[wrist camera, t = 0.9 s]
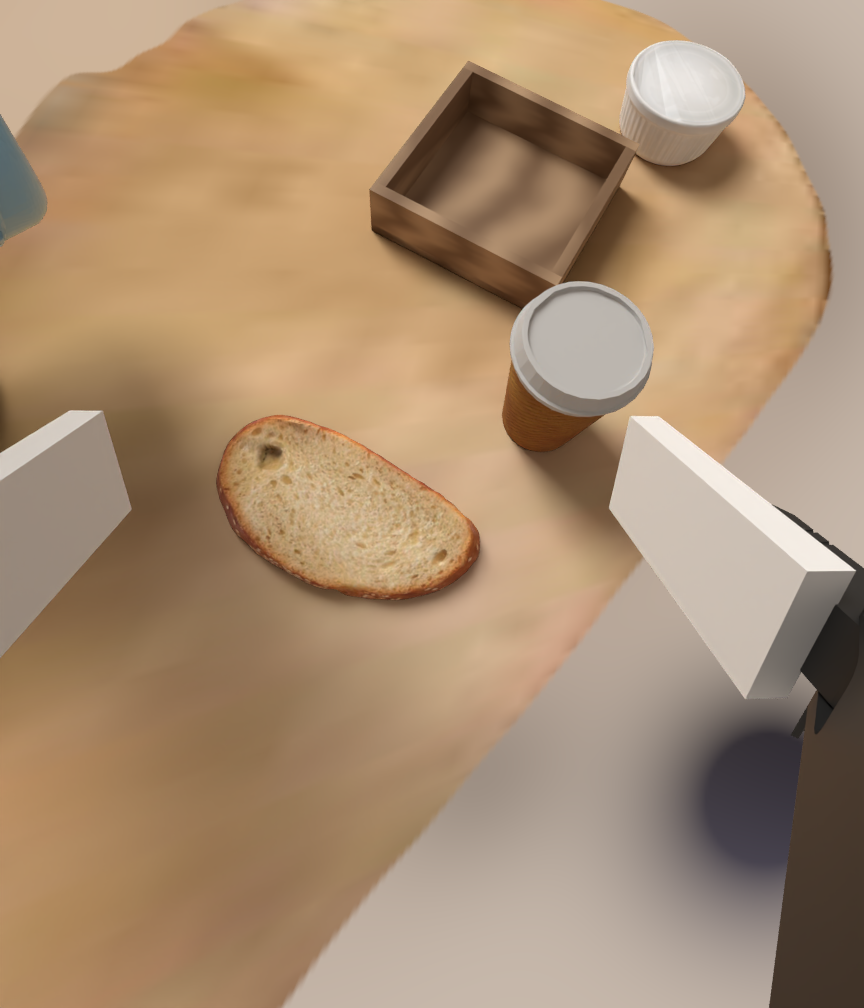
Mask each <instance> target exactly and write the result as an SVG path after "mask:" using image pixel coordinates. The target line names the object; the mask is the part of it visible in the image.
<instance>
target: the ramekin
mask: <svg viewBox="0 0 864 1008" xmlns="http://www.w3.org/2000/svg"><path fill="white" fill-rule="evenodd" d="M744 100H745V88H744V83H743V81H742V78H741V76H740V74H739V73H738V71H737V70H736V68H735V67H734V66H733V64H732V63H731V62H730V61H729V60H728V59H727V58H726V57H724V56H723V55H721V54H719V53H718V52H716V51H714V50H713V49H711V48H708V47H706V46H703V45H700V44H697V43H694V42H688V41H664V42H659V43H656V44H653V45H651V46H649V47H647V48H646V49H644V50H643V51H641V52H640V53H639V54H638V55H637V56H636V58H635V59H634V61H633V62H632V64H631V67H630V69H629V72H628V75H627V81H626V91H625V95H624V100H623V104H622V108H621V113H620V121H619V123H620V129H621V133H622V136H624V137H626V138H628V139H630V140H632V141H635V142H637V143H639V144H640V145H639V147H638V149H637V151H636V153H635V154H637V155H638V156H639V157H641V158H642V159H644V160H646V161H648V162H651V163H654V164H658V165H664V166H676V165H681V164H685V163H687V162H690V161H692V160H695V159H696V158H697V157H699V156H700V155H702V154H703V153H704V152H705V151H706V150H707V149H708V147H709V146H710V145H711V144H712V143H713V142H714V140H715V139H716V138H717V137H718V136H719V135H720V133H721V132H722V131H723V130H724V128H725V127H727V126H728V125H729V124H730V123H731V122H732V121H733V120H734V119H735V118H736V116H737V115H738V113H739V112H740V110H741V108H742V106H743V104H744Z"/></svg>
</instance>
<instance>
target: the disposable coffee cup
mask: <svg viewBox="0 0 864 1008" xmlns="http://www.w3.org/2000/svg"><path fill="white" fill-rule="evenodd" d="M653 350H654V346H653V337H652V333H651V330H650V327H649V324H648V322H647V321H646V319H645V317H644V315H643V314H642V313H641V311H640V310H639V309H638V308H637V307H636V306H635V305H634V304H633V303H632V302H631V301H630V300H629V299H628V298H627V297H625V296H624V295H622V294H621V293H619V292H617V291H616V290H614V289H612V288H609V287H607V286H604V285H602V284H597V283H592V282H584V281H574V282H567V283H563V284H559V285H556V286H554V287H552V288H550V289H547V290H546V291H544V292H543V293H542V294H540V295H539V296H538V297H536V298H535V299H533V300H532V301H531V302H529V303H528V304H527V305H526V306H525V307H524V308H523V309H522V311H521V312H520V313H519V315H518V317H517V319H516V320H515V322H514V325H513V328H512V332H511V338H510V354H511V359H512V361H511V367H510V373H509V378H508V384H507V389H506V395H505V401H504V407H503V412H502V418H503V424H504V427H505V429H506V431H507V433H508V435H509V436H510V437H511V438H512V440H513V441H515V442H516V443H517V444H518V445H520V446H522V447H523V448H525V449H528V450H531V451H538V452H545V451H551V450H554V449H556V448H559V447H560V446H562V445H563V444H565V443H566V442H568V441H569V440H570V439H572V438H573V437H575V436H576V435H577V434H579V433H580V432H581V431H583V430H584V429H586V428H587V427H588V426H590V425H591V424H593V423H594V422H595V421H597V420H598V419H599V418H601V417H602V416H604V415H605V414H608V413H612V412H615V411H617V410H619V409H621V408H623V407H624V406H626V405H627V404H628V403H630V402H631V401H633V400H634V399H635V398H636V397H637V395H638V394H639V393H640V392H641V391H642V389H643V388H644V386H645V384H646V382H647V380H648V378H649V374H650V370H651V365H652V358H653Z"/></svg>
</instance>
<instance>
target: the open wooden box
mask: <svg viewBox="0 0 864 1008" xmlns="http://www.w3.org/2000/svg"><path fill="white" fill-rule="evenodd" d="M639 145H640V144H639V143H637V142H635V141H632V140H630V139H628V138H626V137H624V136H622V135H620V134H618V133H616V132H614V131H612V130H610V129H608V128H606V127H604V126H602V125H600V124H598V123H595V122H593V121H591V120H589V119H587V118H585V117H583V116H581V115H579V114H577V113H575V112H573V111H571V110H569V109H567V108H565V107H563V106H560V105H558V104H556V103H554V102H552V101H550V100H548V99H546V98H544V97H542V96H540V95H538V94H536V93H534V92H532V91H530V90H528V89H525V88H523V87H521V86H519V85H517V84H515V83H513V82H511V81H509V80H507V79H505V78H503V77H501V76H499V75H497V74H495V73H493V72H490V71H488V70H486V69H484V68H482V67H480V66H478V65H476V64H474V63H472V62H470V61H468V62H467V63H466V65H465V66H464V67H463V68H462V70H461V71H460V72H459V74H458V75H457V76H456V78H455V79H454V80H453V81H452V83H451V84H450V85H449V87H448V88H447V89H446V91H445V92H444V93H443V94H442V96H441V97H440V98H439V100H438V101H437V102H436V104H435V105H434V106H433V108H432V109H431V110H430V111H429V113H428V114H427V115H426V117H425V118H424V119H423V121H422V122H421V123H420V124H419V126H418V127H417V128H416V130H415V131H414V132H413V134H412V135H411V136H410V137H409V139H408V140H407V141H406V143H405V144H404V145H403V147H402V148H401V149H400V150H399V152H398V153H397V154H396V156H395V157H394V158H393V160H392V161H391V162H390V163H389V165H388V166H387V167H386V169H385V170H384V171H383V173H382V174H381V175H380V176H379V178H378V179H377V180H376V182H375V183H374V184H373V186H372V187H371V188H370V189H369V190H370V207H371V225H372V231H374V232H376V233H378V234H380V235H382V236H384V237H386V238H388V239H390V240H391V241H393V242H395V243H397V244H399V245H401V246H403V247H405V248H407V249H409V250H411V251H413V252H415V253H416V254H418V255H420V256H422V257H424V258H426V259H428V260H430V261H432V262H434V263H436V264H438V265H440V266H441V267H443V268H445V269H447V270H449V271H451V272H453V273H455V274H457V275H459V276H461V277H463V278H464V279H466V280H468V281H470V282H472V283H474V284H476V285H478V286H480V287H482V288H484V289H486V290H488V291H489V292H491V293H493V294H495V295H497V296H499V297H501V298H503V299H505V300H507V301H509V302H511V303H513V304H514V305H516V306H518V307H520V308H522V309H523V308H524V307H525V306H526V305H527V304H528V303H529V302H531V301H532V300H533V299H535V298H536V297H538V296H539V295H540V294H542V293H543V292H544V291H546V290H547V289H550V288H552V287H554V286H556V285H559V284H563V282H564V281H565V279H566V277H567V275H568V274H569V272H570V270H571V269H572V267H573V265H574V263H575V262H576V260H577V258H578V257H579V255H580V253H581V251H582V250H583V248H584V246H585V245H586V243H587V241H588V239H589V238H590V236H591V234H592V233H593V231H594V229H595V227H596V226H597V224H598V222H599V220H600V219H601V217H602V215H603V214H604V212H605V210H606V208H607V207H608V205H609V203H610V202H611V200H612V198H613V196H614V195H615V193H616V191H617V190H618V188H619V186H620V184H621V182H622V180H623V178H624V176H625V174H626V172H627V170H628V168H629V166H630V164H631V162H632V160H633V158H634V156H635V153H636V151H637V149H638V147H639Z"/></svg>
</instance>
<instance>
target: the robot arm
mask: <svg viewBox="0 0 864 1008" xmlns="http://www.w3.org/2000/svg"><path fill="white" fill-rule="evenodd" d="M46 211H47V197H46V194H45V191H44V189H43V187H42V185H41V183H40V181H39V179H38V178H37V176H36V174H35V172H34V170H33V169H32V167H31V165H30V164H29V162H28V160H27V158H26V157H25V155H24V153H23V151H22V150H21V148H20V146H19V145H18V143H17V141H16V140H15V138H14V136H13V135H12V133H11V131H10V130H9V128H8V126H7V124H6V123H5V121H4V120H3V118H2V116H1V115H0V247H1V246H2V245H3V244H4V241H6V240H8V239H9V238H11V237H13V236H15V235H17V234H19V233H21V232H23V231H25V230H27V229H29V228H31V227H33V226H35V225H37V224H38V223H39V222H40V221H41V220H42V219H43V216H44V215H45V213H46ZM609 509H610V511H611V512H612V513H613V515H614V516H615V518H616V519H617V520H618V522H619V523H620V525H621V526H622V527H623V529H624V530H625V532H626V533H627V534H628V536H629V537H630V539H631V540H632V541H633V543H634V544H635V546H636V547H637V548H638V550H639V551H640V553H641V554H642V555H643V557H644V558H645V559H646V561H647V562H648V563H649V565H650V566H651V568H652V569H653V571H654V572H655V573H656V575H657V576H658V578H659V579H660V580H661V582H662V583H663V585H664V586H665V587H666V589H667V590H668V591H669V593H670V594H671V596H672V597H673V599H674V600H675V601H676V603H677V604H678V606H679V607H680V608H681V610H682V611H683V613H684V614H685V615H686V617H687V618H688V620H689V621H690V622H691V624H692V625H693V626H694V628H695V629H696V631H697V632H698V633H699V635H700V636H701V638H702V639H703V641H704V642H705V643H706V645H707V646H708V647H709V649H710V650H711V652H712V653H713V655H714V656H715V657H716V659H717V660H718V661H719V663H720V664H721V666H722V667H723V668H724V670H725V671H726V673H727V674H728V675H729V677H730V678H731V680H732V681H733V682H734V684H735V685H736V687H737V688H738V689H739V691H740V692H741V694H742V695H743V696H744V698H745V699H765V698H787V697H788V696H789V694H790V692H791V690H792V688H793V686H794V685H795V683H796V681H797V679H798V677H799V675H800V673H801V672H802V673H803V674H804V675H805V677H806V678H807V679H808V680H809V681H810V682H811V683H812V685H813V686H814V687H815V688H816V689H817V691H816V692H815V694H814V696H813V697H812V699H811V701H810V703H809V705H808V706H807V708H806V710H805V711H804V713H803V715H802V717H801V718H800V720H799V722H798V723H797V725H796V727H795V729H794V731H793V732H792V734H791V735H792V736H794V737H796V738H799V737H800V735H801V734H802V732H803V731H805V732H804V740H803V748H802V755H801V764H800V771H799V779H798V786H797V795H796V802H795V810H794V818H793V826H792V833H791V841H790V849H789V857H788V864H787V872H786V880H785V888H784V895H783V903H782V912H781V919H780V927H779V935H778V943H777V950H776V958H775V966H774V973H773V982H772V989H771V997H770V1005H769V1008H864V568H862V567H861V566H860V565H859V564H857V563H856V562H855V561H853V560H852V559H851V558H849V557H848V556H847V555H846V554H844V553H843V552H842V551H840V550H839V549H838V548H836V547H835V546H834V545H829V541H827V540H826V539H825V538H823V537H822V536H821V535H819V534H818V533H813V529H811V528H810V527H809V526H808V525H806V524H805V523H804V522H802V521H801V520H800V519H798V518H797V517H796V516H795V515H793V514H791V513H789V512H787V511H785V510H782V509H780V508H778V507H776V506H774V505H772V504H770V503H769V502H768V501H766V500H765V499H764V498H762V497H761V496H760V495H759V494H757V493H756V492H755V491H753V490H752V489H751V488H750V487H748V486H747V485H746V484H744V483H743V482H742V481H741V480H739V479H738V478H737V477H736V476H734V475H733V474H732V473H730V472H729V471H728V470H727V469H725V468H724V467H723V466H722V465H720V464H719V463H718V462H716V461H715V460H714V459H713V458H711V457H710V456H709V455H707V454H706V453H705V452H704V451H702V450H701V449H700V448H699V447H697V446H696V445H695V444H693V443H692V442H691V441H690V440H688V439H687V438H686V437H684V436H683V435H682V434H681V433H679V432H678V431H677V430H676V429H674V428H673V427H672V426H670V425H669V424H668V423H667V422H665V421H664V420H663V419H661V418H660V417H659V416H630V419H629V423H628V427H627V432H626V436H625V440H624V445H623V449H622V453H621V457H620V462H619V466H618V470H617V475H616V479H615V483H614V488H613V492H612V496H611V501H610V505H609ZM131 510H132V508H131V504H130V501H129V498H128V494H127V491H126V487H125V484H124V481H123V477H122V474H121V470H120V467H119V464H118V460H117V457H116V454H115V450H114V447H113V443H112V440H111V437H110V433H109V430H108V426H107V423H106V420H105V416H104V413H103V411H77V410H70V411H68V412H66V413H65V414H63V415H62V416H60V417H58V418H57V419H55V420H53V421H52V422H50V423H48V424H47V425H45V426H44V427H42V428H40V429H39V430H37V431H35V432H34V433H32V434H30V435H29V436H27V437H26V438H24V439H22V440H21V441H19V442H17V443H16V444H14V445H12V446H11V447H9V448H8V449H6V450H4V451H3V452H1V453H0V658H1V657H2V656H3V654H4V653H5V652H6V651H7V650H8V649H9V648H10V647H11V645H12V644H13V643H14V642H15V641H16V640H17V639H18V637H19V636H20V635H21V634H22V633H23V632H24V631H25V630H26V628H27V627H28V626H29V625H30V624H31V623H32V622H33V621H34V619H35V618H36V617H37V616H38V615H39V614H40V613H41V611H42V610H43V609H44V608H45V607H46V606H47V605H48V604H49V602H50V601H51V600H52V599H53V598H54V597H55V596H56V595H57V593H58V592H59V591H60V590H61V589H62V588H63V587H64V586H65V584H66V583H67V582H68V581H69V580H70V579H71V578H72V576H73V575H74V574H75V573H76V572H77V571H78V570H79V569H80V567H81V566H82V565H83V564H84V563H85V562H86V561H87V560H88V558H89V557H90V556H91V555H92V554H93V553H94V552H95V550H96V549H97V548H98V547H99V546H100V545H101V544H102V543H103V541H104V540H105V539H106V538H107V537H108V536H109V535H110V534H111V532H112V531H113V530H114V529H115V528H116V527H117V526H118V525H119V523H120V522H121V521H122V520H123V519H124V518H125V517H126V515H127V514H128V513H129V512H130V511H131Z"/></svg>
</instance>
